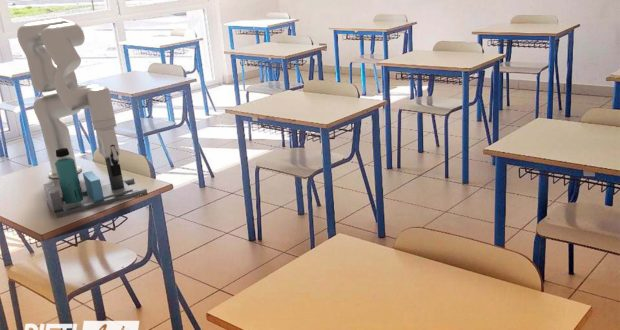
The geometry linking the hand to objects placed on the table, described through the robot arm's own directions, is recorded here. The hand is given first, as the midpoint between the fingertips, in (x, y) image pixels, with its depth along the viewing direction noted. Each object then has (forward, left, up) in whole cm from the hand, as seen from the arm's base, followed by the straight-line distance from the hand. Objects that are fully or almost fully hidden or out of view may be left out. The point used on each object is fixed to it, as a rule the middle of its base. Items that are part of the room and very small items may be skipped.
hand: (114, 173), depth 221 cm
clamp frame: (0, -8, -7) cm, 11 cm away
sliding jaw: (0, -3, -7) cm, 7 cm away
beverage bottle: (0, -15, -8) cm, 17 cm away
